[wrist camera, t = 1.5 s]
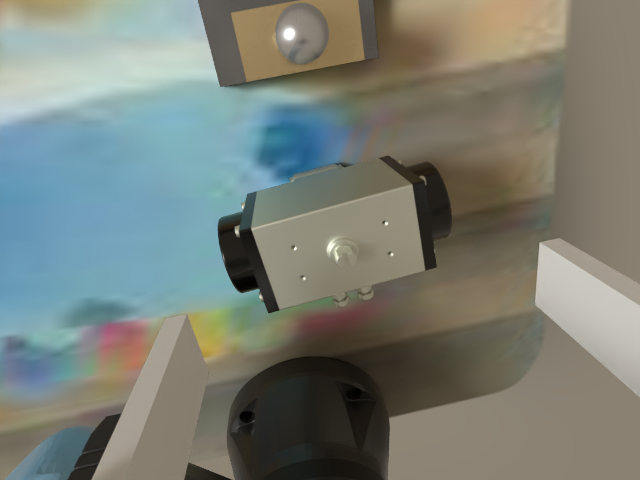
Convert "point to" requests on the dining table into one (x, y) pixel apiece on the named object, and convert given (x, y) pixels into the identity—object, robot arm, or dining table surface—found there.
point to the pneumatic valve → (336, 232)
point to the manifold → (286, 36)
